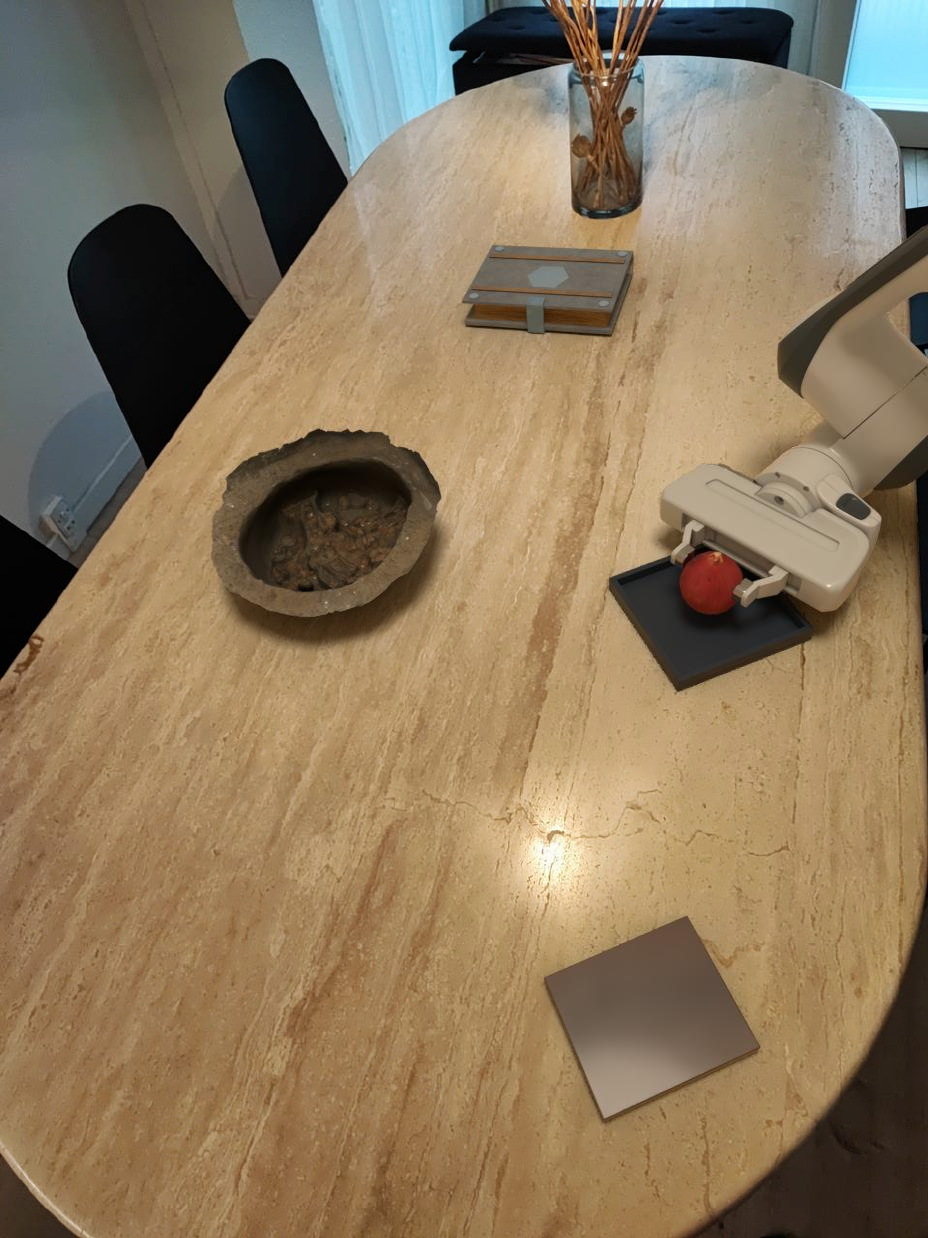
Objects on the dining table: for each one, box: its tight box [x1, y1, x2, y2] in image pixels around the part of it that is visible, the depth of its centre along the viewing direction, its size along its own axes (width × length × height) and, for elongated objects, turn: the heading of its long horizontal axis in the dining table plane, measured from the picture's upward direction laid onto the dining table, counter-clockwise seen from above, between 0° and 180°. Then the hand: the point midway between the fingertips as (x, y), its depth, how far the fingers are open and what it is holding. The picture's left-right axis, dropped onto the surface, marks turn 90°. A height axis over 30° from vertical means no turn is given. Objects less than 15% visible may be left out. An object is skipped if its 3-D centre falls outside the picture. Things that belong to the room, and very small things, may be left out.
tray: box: [608, 543, 815, 692], centre depth 84 cm, size 14×14×2 cm
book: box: [461, 244, 635, 336], centre depth 121 cm, size 21×16×5 cm
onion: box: [679, 551, 743, 614], centre depth 81 cm, size 6×6×8 cm
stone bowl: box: [210, 428, 442, 618], centre depth 92 cm, size 25×25×9 cm
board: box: [543, 915, 761, 1124], centre depth 62 cm, size 10×12×1 cm
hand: (707, 580), depth 80 cm, fingers closed on onion, 6 cm apart
